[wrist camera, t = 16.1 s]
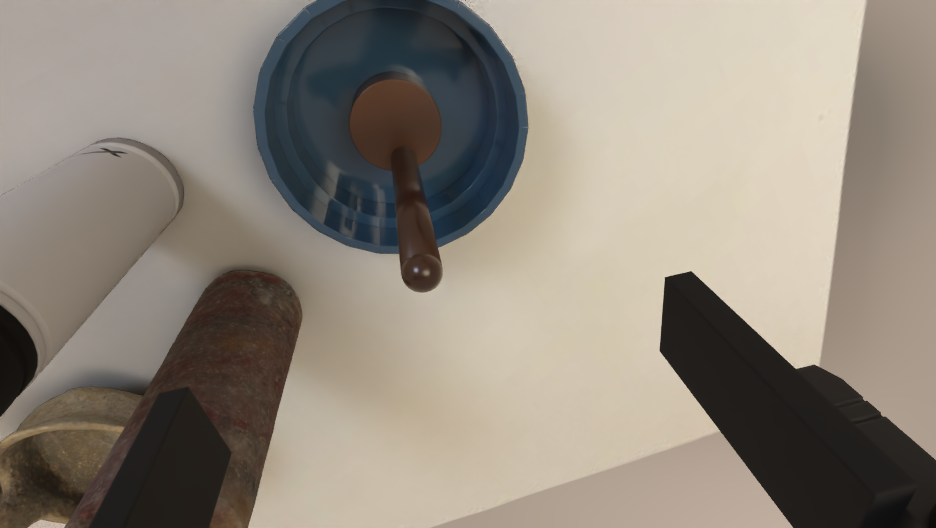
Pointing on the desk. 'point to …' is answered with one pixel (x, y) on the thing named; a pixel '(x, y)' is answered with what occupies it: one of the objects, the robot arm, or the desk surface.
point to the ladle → (402, 163)
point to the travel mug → (74, 247)
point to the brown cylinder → (222, 385)
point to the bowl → (59, 454)
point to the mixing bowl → (330, 101)
